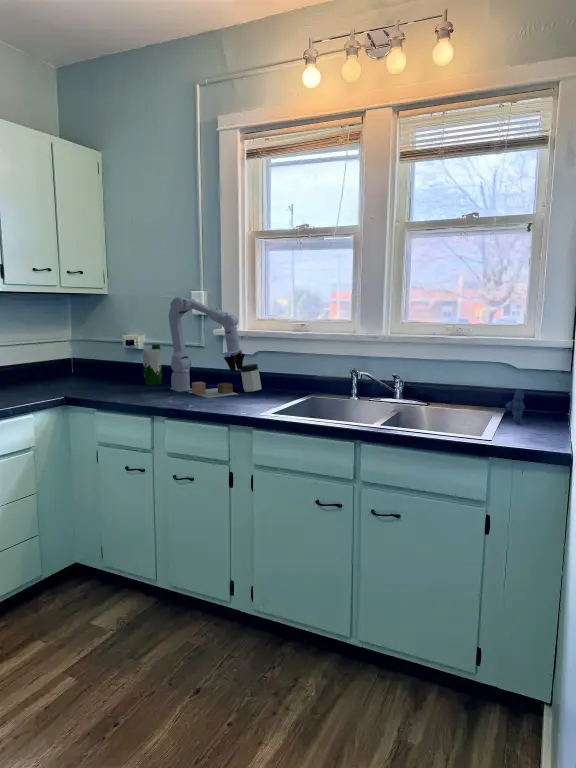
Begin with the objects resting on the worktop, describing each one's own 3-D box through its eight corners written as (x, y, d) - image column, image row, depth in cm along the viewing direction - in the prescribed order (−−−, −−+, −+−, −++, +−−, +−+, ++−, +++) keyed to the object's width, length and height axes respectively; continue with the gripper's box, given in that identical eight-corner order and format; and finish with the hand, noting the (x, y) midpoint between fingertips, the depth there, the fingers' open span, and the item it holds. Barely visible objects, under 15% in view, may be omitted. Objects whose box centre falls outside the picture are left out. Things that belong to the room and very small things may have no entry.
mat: (187, 392, 253) (187, 391, 253) (216, 388, 262) (216, 388, 262) (208, 398, 237) (208, 397, 237) (238, 394, 247) (238, 393, 247)
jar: (243, 390, 259) (239, 366, 257) (259, 387, 260) (255, 363, 259) (245, 392, 250) (241, 367, 249) (262, 389, 252) (258, 364, 250)
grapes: (504, 418, 199) (506, 386, 197) (524, 420, 196) (527, 387, 194) (503, 425, 188) (505, 391, 186) (524, 427, 185) (526, 392, 183)
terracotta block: (192, 393, 248) (191, 382, 247) (201, 392, 251) (200, 381, 250) (196, 394, 245) (196, 383, 244) (205, 393, 247) (205, 382, 247)
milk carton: (162, 384, 275) (161, 345, 272) (144, 385, 273) (142, 346, 270) (161, 382, 284) (159, 344, 281) (143, 382, 281) (142, 344, 278)
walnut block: (217, 392, 251) (217, 383, 250) (227, 391, 254) (226, 382, 253) (223, 393, 247) (223, 385, 246) (232, 392, 250) (232, 384, 249)
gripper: (233, 341, 238) (237, 371, 240) (246, 339, 252) (250, 367, 253) (219, 343, 241) (223, 373, 242) (233, 340, 254) (237, 369, 256)
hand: (236, 370), depth 248 cm, fingers open, 7 cm apart
